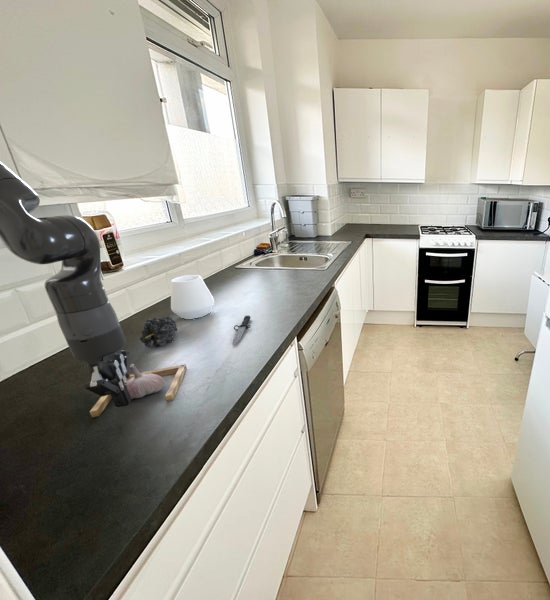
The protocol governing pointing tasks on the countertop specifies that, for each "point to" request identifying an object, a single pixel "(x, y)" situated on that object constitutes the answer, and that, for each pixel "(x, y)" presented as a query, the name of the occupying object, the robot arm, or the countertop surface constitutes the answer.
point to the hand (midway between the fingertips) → (124, 404)
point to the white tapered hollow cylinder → (190, 297)
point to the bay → (174, 385)
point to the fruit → (158, 331)
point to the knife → (241, 329)
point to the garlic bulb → (143, 383)
